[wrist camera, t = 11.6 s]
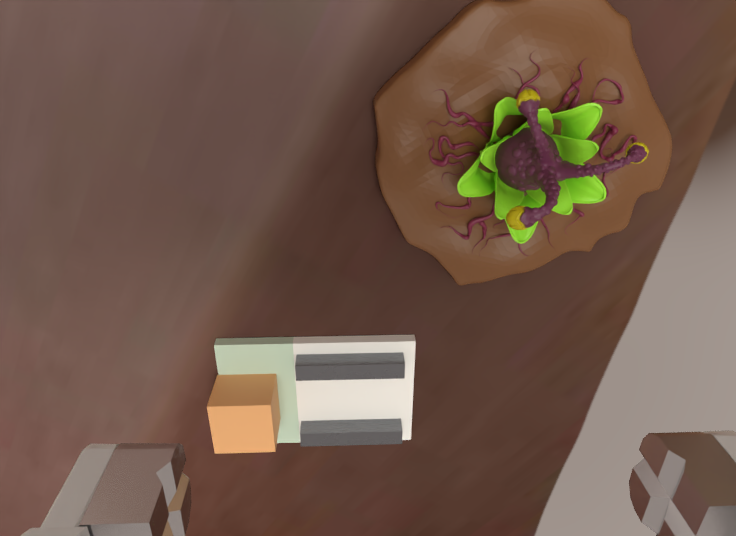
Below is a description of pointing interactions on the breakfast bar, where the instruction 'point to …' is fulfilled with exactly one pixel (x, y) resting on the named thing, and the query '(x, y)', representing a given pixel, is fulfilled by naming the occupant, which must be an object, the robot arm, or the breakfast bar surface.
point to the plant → (519, 136)
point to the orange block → (244, 413)
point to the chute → (332, 385)
